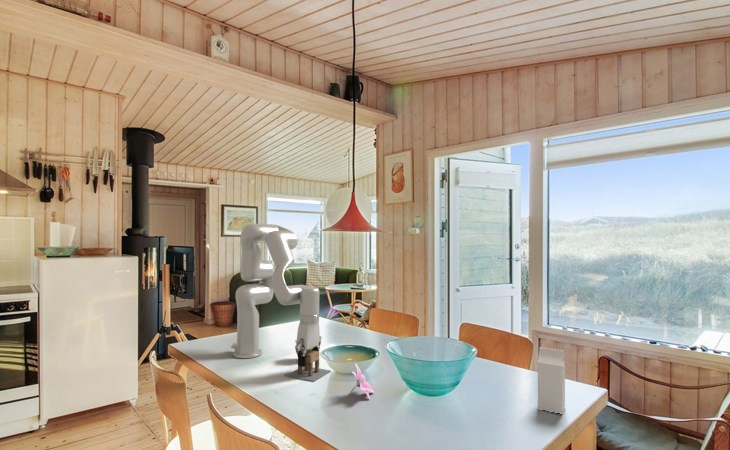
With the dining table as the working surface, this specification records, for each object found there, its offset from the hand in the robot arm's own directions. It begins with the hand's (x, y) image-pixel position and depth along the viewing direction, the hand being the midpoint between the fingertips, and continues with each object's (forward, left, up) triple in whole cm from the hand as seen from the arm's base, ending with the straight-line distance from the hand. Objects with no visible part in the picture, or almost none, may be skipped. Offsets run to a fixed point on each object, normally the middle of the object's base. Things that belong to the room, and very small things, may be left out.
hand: (308, 362), depth 158 cm
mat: (0, 0, -4) cm, 4 cm away
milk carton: (+87, +8, -5) cm, 87 cm away
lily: (+28, -10, -5) cm, 30 cm away
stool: (0, 0, -4) cm, 4 cm away
